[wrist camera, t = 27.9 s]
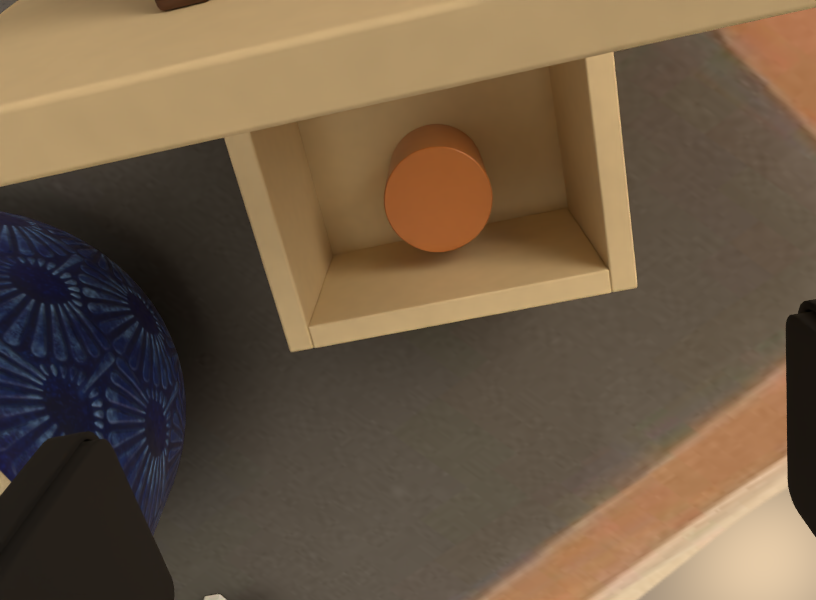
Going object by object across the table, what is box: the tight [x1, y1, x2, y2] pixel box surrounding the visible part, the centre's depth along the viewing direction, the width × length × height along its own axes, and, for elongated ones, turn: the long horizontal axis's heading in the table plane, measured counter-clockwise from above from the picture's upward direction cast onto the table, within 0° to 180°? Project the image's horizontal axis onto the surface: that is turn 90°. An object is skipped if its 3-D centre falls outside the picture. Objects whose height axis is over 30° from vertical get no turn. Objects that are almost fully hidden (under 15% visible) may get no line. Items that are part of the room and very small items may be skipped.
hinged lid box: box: [224, 52, 637, 352], centre depth 24 cm, size 13×11×8 cm
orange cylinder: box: [384, 124, 493, 252], centre depth 26 cm, size 4×4×4 cm
